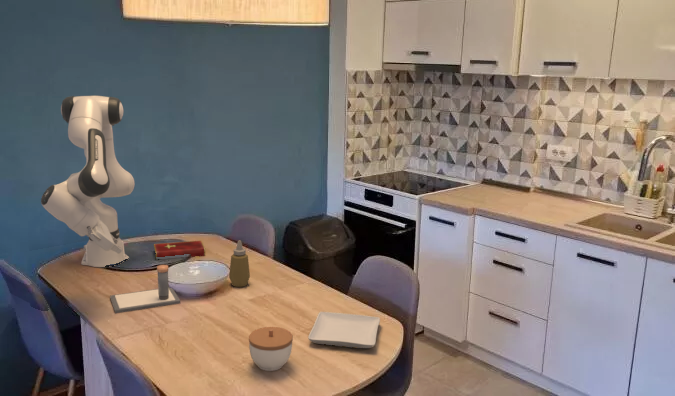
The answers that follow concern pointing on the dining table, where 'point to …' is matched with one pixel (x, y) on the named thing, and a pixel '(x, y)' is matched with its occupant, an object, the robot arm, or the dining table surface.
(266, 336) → the lidded bowl
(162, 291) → the marker
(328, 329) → the salad plate
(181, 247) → the hardcover book
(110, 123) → the robot arm
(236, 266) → the squeeze bottle
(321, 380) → the dining table surface
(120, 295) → the writing board
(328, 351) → the dining table surface
